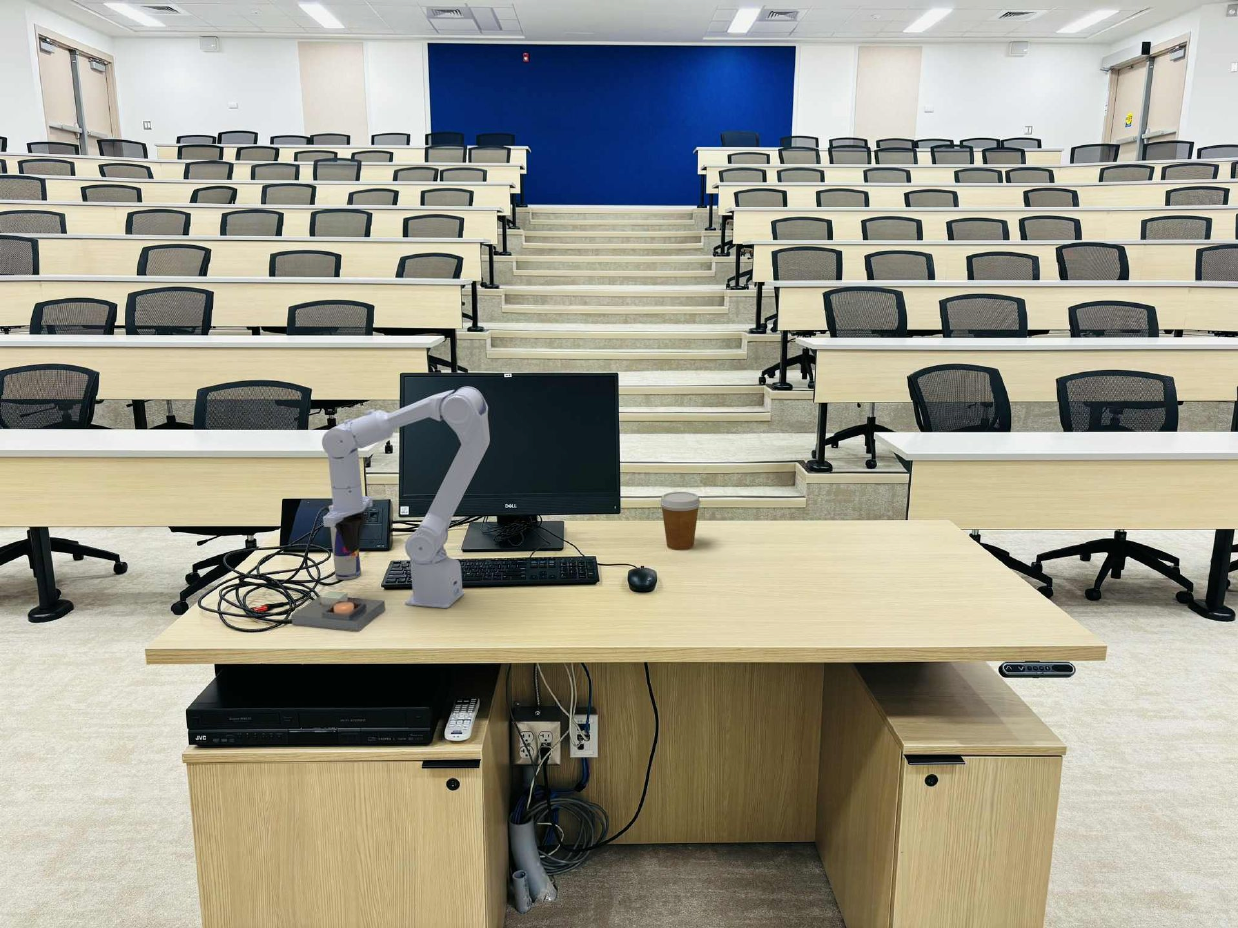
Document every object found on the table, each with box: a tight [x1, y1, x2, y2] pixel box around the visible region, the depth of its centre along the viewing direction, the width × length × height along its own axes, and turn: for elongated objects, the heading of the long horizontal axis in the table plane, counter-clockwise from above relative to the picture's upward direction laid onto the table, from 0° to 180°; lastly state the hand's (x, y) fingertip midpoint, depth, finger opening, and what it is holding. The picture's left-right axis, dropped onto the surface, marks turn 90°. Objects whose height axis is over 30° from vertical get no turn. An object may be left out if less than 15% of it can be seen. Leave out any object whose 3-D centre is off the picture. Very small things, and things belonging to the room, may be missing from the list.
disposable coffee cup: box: [659, 491, 702, 551], centre depth 202 cm, size 10×10×12 cm
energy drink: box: [330, 527, 362, 581], centre depth 187 cm, size 5×5×12 cm
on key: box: [320, 590, 348, 606], centre depth 169 cm, size 4×3×3 cm
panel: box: [290, 594, 386, 632], centre depth 167 cm, size 14×10×3 cm
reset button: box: [334, 602, 354, 614], centre depth 164 cm, size 4×4×3 cm
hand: (352, 550), depth 173 cm, fingers closed
